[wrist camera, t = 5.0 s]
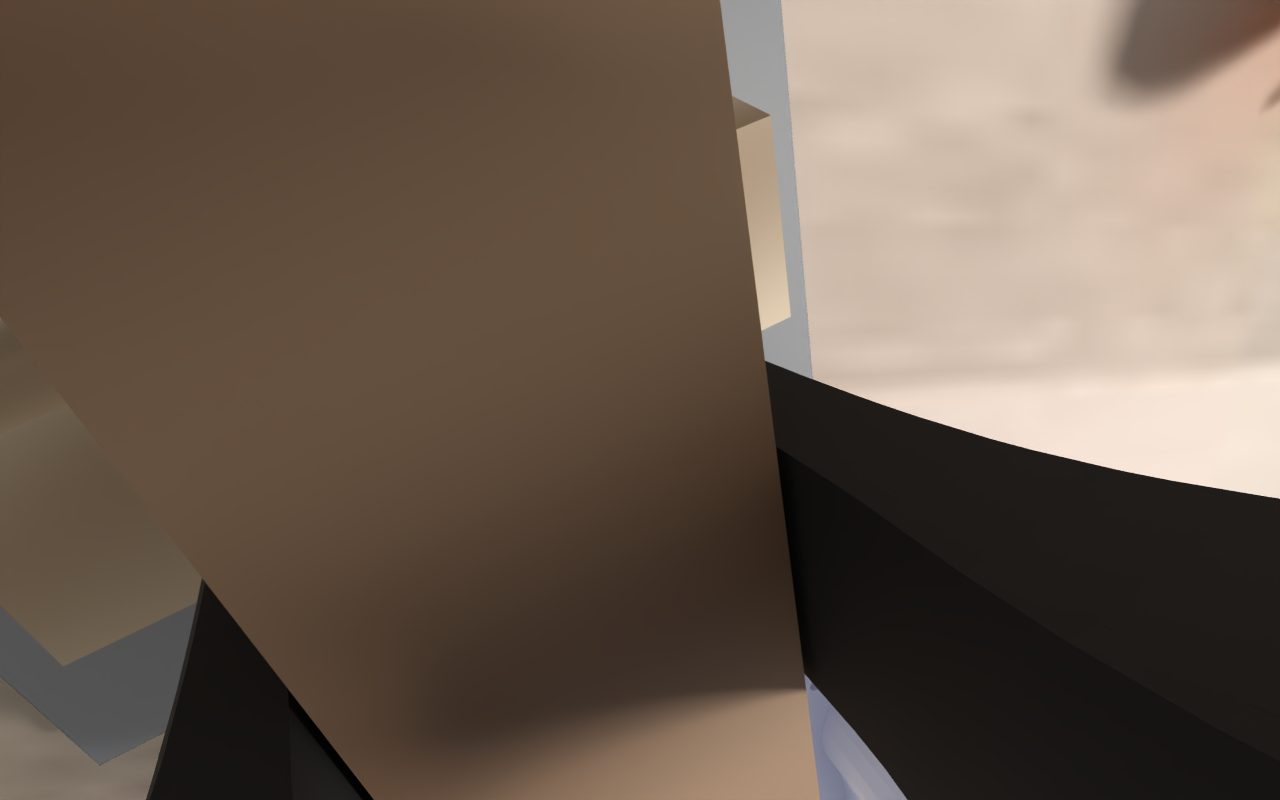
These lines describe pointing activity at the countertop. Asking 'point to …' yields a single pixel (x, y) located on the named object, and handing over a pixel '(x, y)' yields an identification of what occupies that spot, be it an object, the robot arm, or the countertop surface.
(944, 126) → the countertop surface
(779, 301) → the ridge
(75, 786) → the countertop surface
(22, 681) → the board
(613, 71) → the brown wooden block
